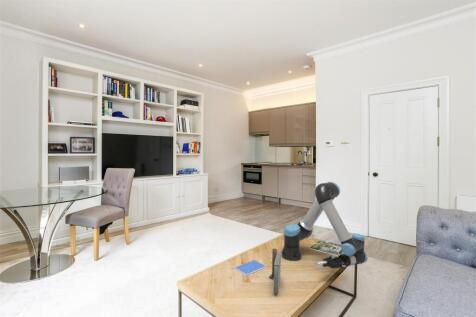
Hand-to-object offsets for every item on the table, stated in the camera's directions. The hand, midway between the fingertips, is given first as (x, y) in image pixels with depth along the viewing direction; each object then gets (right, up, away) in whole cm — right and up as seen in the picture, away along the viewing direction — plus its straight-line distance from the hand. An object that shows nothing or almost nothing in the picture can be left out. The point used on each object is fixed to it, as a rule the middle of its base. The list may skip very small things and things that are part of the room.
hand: (317, 265), depth 148 cm
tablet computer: (-41, -10, +16) cm, 45 cm away
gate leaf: (-26, -8, -6) cm, 28 cm away
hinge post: (-26, -9, +4) cm, 28 cm away
